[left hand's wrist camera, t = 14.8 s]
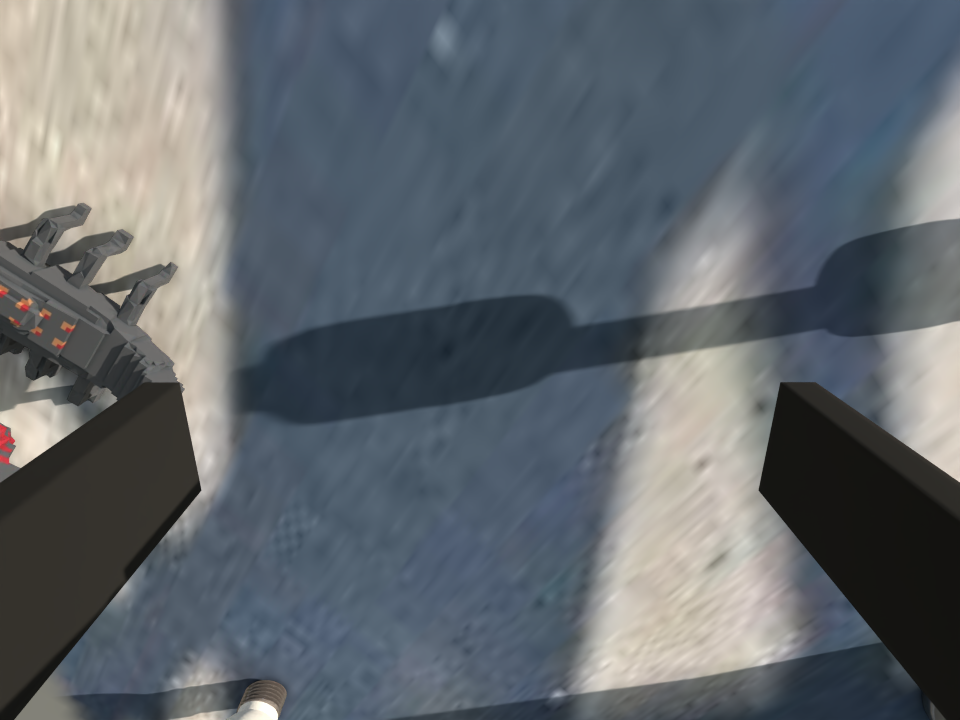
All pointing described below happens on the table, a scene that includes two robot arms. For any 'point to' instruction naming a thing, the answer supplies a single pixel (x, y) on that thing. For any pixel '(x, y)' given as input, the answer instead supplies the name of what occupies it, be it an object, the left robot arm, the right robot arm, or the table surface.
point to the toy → (75, 320)
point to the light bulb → (261, 701)
